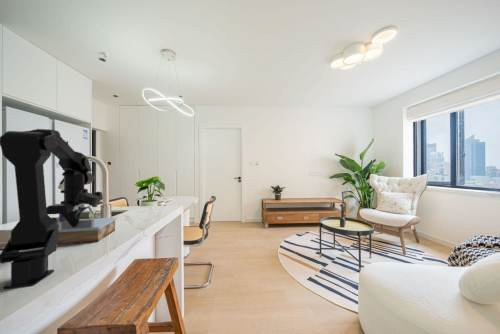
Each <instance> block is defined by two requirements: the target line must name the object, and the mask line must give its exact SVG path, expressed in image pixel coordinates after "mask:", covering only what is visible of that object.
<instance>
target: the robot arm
mask: <svg viewBox="0 0 500 334" xmlns="http://www.w3.org/2000/svg"><path fill="white" fill-rule="evenodd" d="M0 149H1V153H2V155H3V157H4V158H5V159H6V160H7V161H8V162H9V163H11V164H12V166H14V174H15V185H16V194H17V197H16V198H17V205H18V207H17V208H18V216H19V217H18V218H19V221H18V222H17V223H16V225H15V226H14V227H13V228H12V229H11V230H10V238H9V240H8V242H7V243H6V245H5V247H4V248H3V250H2V251H1V252H0V264H5V263H10V265H11V266H10V282H7V283H6V284H4V285H3V286H2V289H9V288H11V289H12V288H17V287H18V288H19V287H26V286H34V285H36V284H38V283H39V282H40V281H42V280H44V279H45V278H46V277H48V276H49V275H51V274H53V273H54V272H55V269H49V256H50V255H52V254H53V253H55V252H56V251H57V247H58V245H57V243H58V238H59V231H58V228H59V226H58V219H57V218H56V217H55V216H54V217H52V216H49V215H59V214H62V215H63V216H64V217H65V218H66V220H67V221H68V222H69V224H70V225H71V226H72V227H76V226H77V224H78V221H79V220H80V219H81V217H82V214H83V212H85V211H86V210H87V209H88V208H89V206H94V207H95V206H96V205H100V203H101V201H102V200H104V199H103V198H104V195H103V192H101V191H95V193H93V192H92V193H91V192H89V190H88V188H85V185H86V186H87V185H90V184H92V183H93V182H94V180H95V176H94V174H93V173H92V168H91V164H90V161H89V158H88V157H87V156H86V155H85V154H83V152H82V153H81V152H79V151H75V150H74V149H73V148H72V147H71V146H70V145H69V144H68V142H67V141H66V140H64V139H63V137H62V136H61V134H60V132H59V131H58V130H55V129H50V128H49V129H46V128H36V129H32V130H24V131H21V130H20V131H18V130H8V131H6V132H4V134H2V135H0ZM51 154H52V155H54V156H55V157H56V158H57V159H58V163H57V164H58V165H59V166H60V167H61V169H62V170H63V172H62V174H61V175H62V177H63V190H60V194H63V200H62V201H60V203H55V204H51V205H48V206H47V198H46V185H45V172H44V171H45V170H44V164H45V163H46V162H47V160H48V159H50V157H51V156H52V155H51ZM86 205H88V206H86Z"/></svg>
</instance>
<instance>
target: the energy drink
mask: <svg viewBox="0 0 500 334" xmlns="http://www.w3.org/2000/svg"><path fill="white" fill-rule="evenodd" d="M63 221H67V220H66V218H65V217H64V216H63V215H62V214H58V228H60V227H61V222H63Z"/></svg>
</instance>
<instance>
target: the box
mask: <svg viewBox="0 0 500 334" xmlns="http://www.w3.org/2000/svg"><path fill="white" fill-rule="evenodd" d="M114 231H116V220H115V221H113V222H111V223H110V224H108V225H106V226H104V227H103V228H101V229H99V230H86V231H71V232H59V238H58V243H57V246H64V245H75V244H77V245H78V244H88V243H98V242H100V241H102V240H103V239H105V238H106V237H107V236H109V235H110V234H112V233H113V232H114Z"/></svg>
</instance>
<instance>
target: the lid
mask: <svg viewBox="0 0 500 334" xmlns="http://www.w3.org/2000/svg"><path fill="white" fill-rule="evenodd" d="M117 219H118V218H117V217H103V218H102V217H99V218H84V219H83V218H82V219H81V218H80V219H79V221H78V224H77V226H76V227H72V226H71V225H70V224H69V222H68V221H63V222H61V227H60V228H59V227H58V231H59V232H71V231H86V230H99V229H101V228H103V227H104V226H106V225H108V224H110V223H111V222H113V221H115V222H116V220H117Z"/></svg>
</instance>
